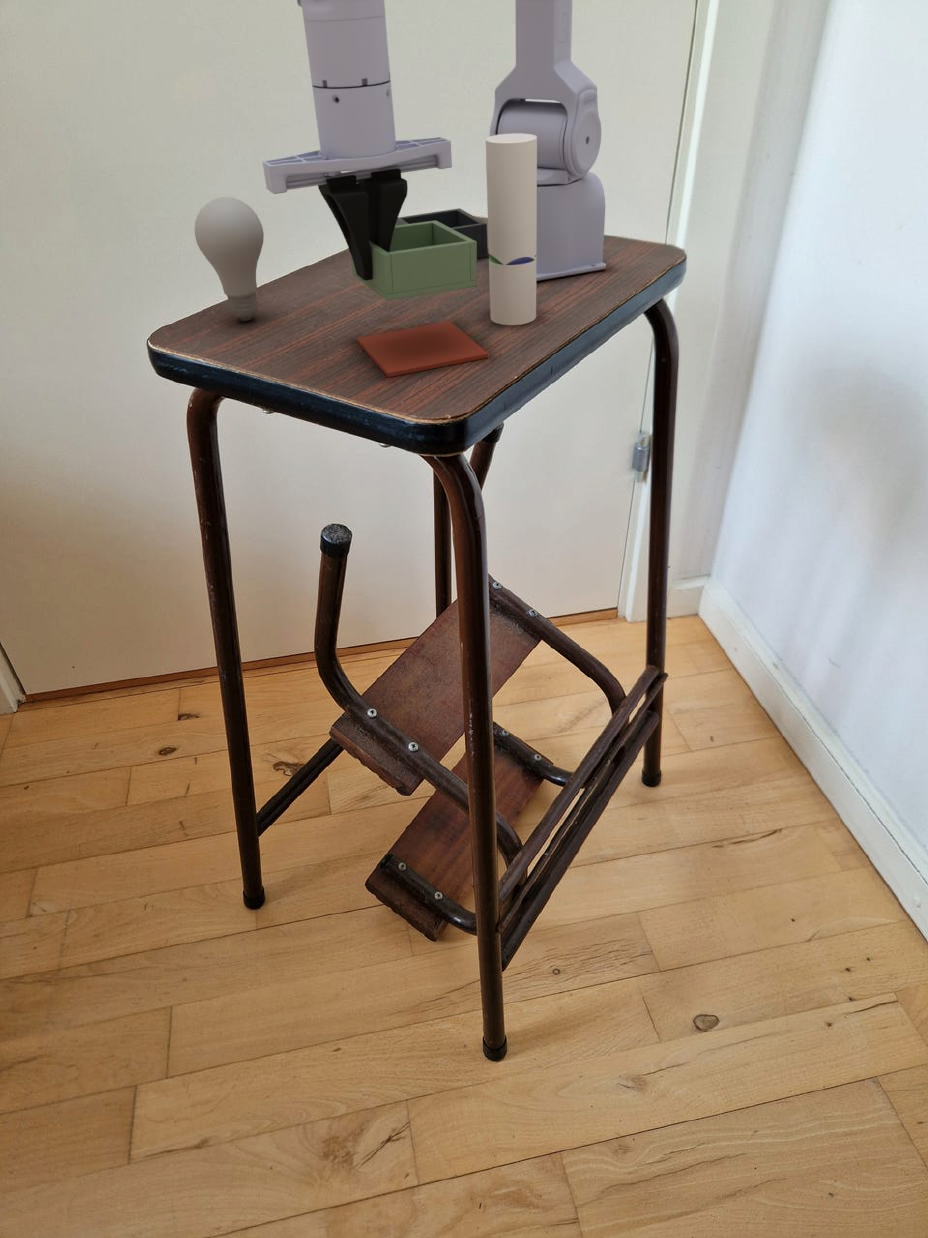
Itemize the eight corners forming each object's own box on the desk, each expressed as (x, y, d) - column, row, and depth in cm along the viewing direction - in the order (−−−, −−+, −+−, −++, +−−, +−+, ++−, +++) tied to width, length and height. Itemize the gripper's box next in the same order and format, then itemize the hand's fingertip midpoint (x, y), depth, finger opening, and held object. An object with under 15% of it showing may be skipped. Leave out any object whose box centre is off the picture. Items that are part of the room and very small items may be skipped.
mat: (450, 324, 82) (449, 320, 82) (488, 357, 75) (487, 353, 75) (357, 342, 80) (356, 337, 79) (388, 377, 73) (387, 372, 73)
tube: (500, 307, 85) (496, 132, 76) (542, 311, 84) (543, 133, 75) (483, 322, 82) (477, 142, 73) (527, 327, 81) (526, 143, 71)
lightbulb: (264, 332, 83) (240, 206, 76) (204, 330, 84) (175, 206, 77) (287, 310, 88) (267, 189, 81) (229, 308, 89) (205, 189, 82)
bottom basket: (461, 239, 104) (460, 207, 102) (487, 256, 99) (486, 223, 96) (397, 249, 102) (394, 217, 100) (420, 268, 96) (418, 234, 94)
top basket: (437, 262, 78) (436, 220, 76) (477, 286, 73) (476, 241, 70) (352, 274, 76) (348, 231, 74) (386, 300, 70) (383, 254, 68)
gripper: (421, 67, 69) (432, 249, 77) (239, 87, 65) (272, 278, 73) (459, 76, 64) (467, 269, 72) (265, 98, 59) (297, 301, 68)
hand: (371, 275), depth 72 cm, fingers closed on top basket
